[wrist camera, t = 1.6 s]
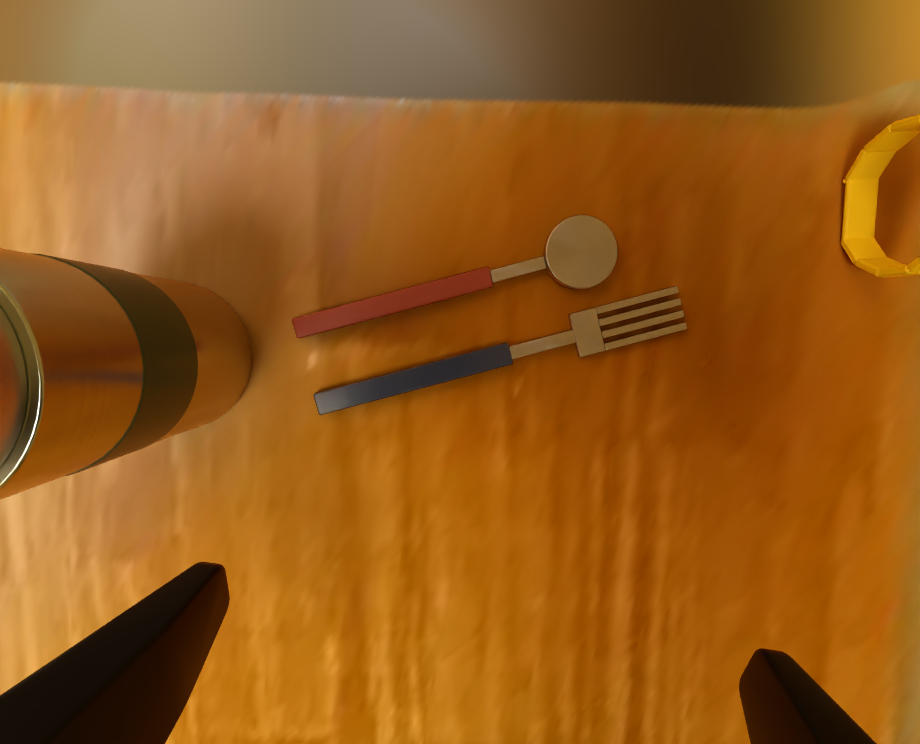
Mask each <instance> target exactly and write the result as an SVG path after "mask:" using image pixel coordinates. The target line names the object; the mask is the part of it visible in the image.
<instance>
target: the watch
mask: <svg viewBox="0 0 920 744" xmlns="http://www.w3.org/2000/svg"><path fill="white" fill-rule="evenodd" d="M919 133H920V114H919V115H916V116H912V117H909V118H905V119H902V120H899V121H895V122H893V123H892V124H889V125H888V126H887V127H886V128H885V129H884V130H882V131H881V132H880V133H879V134H878V135H877V136H875V137H874V138H873V139H872V140H871V141H870V142H869V143H867V144H866V145H865V146H864V149H862V150H861V151H860V153H859V155H858V157H857V158H856V160H855V162H854V163H853V165H852V167H851V168H850V170H849V172H848V173H847V175H846V177H845V178H846V179H843V183H846V184H845V197H844V211H843V224H842V238H841V245H842V246H843V248H844V250H845V251H846V253H847V254H848V256H849V258H850V259H851V261H852V263H853V264H855V266H856V267H858V268H860V269H862V270H864V271H866V272H868V273H870V274H872V275H874V276H876V277H881V278H882V277H903V276H915V275H920V256H919V257H918V258H917V259H915V260H914V261H912V262H911V263H910V264H907V265H904V264H902V263H899V262H897V261H895V260H892V259H890V258H888V257H887V256H886V255H885V253H884V252H883V250H882V249H881V248H880V246H879V245H878V243H877V242H876V240H875V239H874V232H875V220H876V208H877V196H878V184H879V177H880V176H881V174H882V173H883V171H884V169H885V168H886V166H887V165H888V163H889V162H890V160H891V159H892V157H893V156H894V154H895V152H896V151H897V150H899V149H900V148H901V147H903V146H904V145H905V144H906V143H908V142H909V141H910V140H911V139H913V138H914V137H915V136H917V135H918V134H919Z"/></svg>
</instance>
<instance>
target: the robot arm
mask: <svg viewBox="0 0 920 744" xmlns="http://www.w3.org/2000/svg"><path fill="white" fill-rule="evenodd" d="M229 599H230V598H229V590H228V584H227V577H226V571H225V568H224V567H223V566H222V565H220V564H215V563H209V562H199V563H197V564H195V565H193V566H191V567H190V568H189V569H187V570H186V571H184V572H183V573H181V574H180V575H178V576H177V577H175V578H174V579H172V580H171V581H169V582H168V583H166V584H165V585H163V586H162V587H160V588H159V589H157V590H156V591H154V592H153V593H151V594H150V595H148V596H147V597H146V598H144V599H143V600H141V601H140V602H138V603H137V604H135V605H134V606H132V607H131V608H129V609H128V610H126V611H125V612H123V613H122V614H120V615H119V616H117V617H116V618H114V619H113V620H111V621H110V622H108V623H107V624H105V625H104V626H103V627H101V628H100V629H98V630H97V631H95V632H94V633H92V634H91V635H89V636H88V637H86V638H85V639H83V640H82V641H80V642H79V643H77V644H76V645H74V646H73V647H71V648H70V649H68V650H67V651H65V652H64V653H62V654H61V655H60V656H58V657H57V658H55V659H54V660H52V661H51V662H49V663H48V664H46V665H45V666H43V667H42V668H40V669H39V670H37V671H36V672H34V673H33V674H31V675H30V676H28V677H27V678H25V679H24V680H22V681H21V682H19V683H18V684H17V685H15V686H14V687H12V688H11V689H9V690H8V691H6V692H5V693H3V694H2V695H0V744H165V743H166V741H167V739H168V737H169V735H170V733H171V732H172V730H173V728H174V726H175V724H176V722H177V721H178V719H179V717H180V715H181V713H182V711H183V709H184V707H185V705H186V703H187V701H188V699H189V697H190V695H191V692H192V690H193V688H194V686H195V684H196V681H197V679H198V677H199V674H200V672H201V670H202V667H203V665H204V663H205V660H206V658H207V656H208V654H209V651H210V649H211V647H212V644H213V642H214V640H215V637H216V635H217V633H218V630H219V628H220V626H221V624H222V621H223V619H224V617H225V614H226V612H227V609H228V606H229ZM739 691H740V697H741V702H742V706H743V711H744V715H745V720H746V724H747V729H748V733H749V738H750V742H751V744H876V743H875V742H874V741H873V740H872V739H871V738H870V737H869V736H868V735H867V734H866V733H865V732H864V730H863V729H862V728H861V727H860V726H859V725H858V724H857V723H856V722H855V721H854V720H853V719H852V718H851V717H850V716H849V715H848V714H847V713H846V712H845V711H844V710H843V709H842V708H841V707H840V706H839V705H838V704H837V703H836V702H835V701H834V700H833V699H832V698H831V697H830V696H829V695H828V694H827V693H826V692H825V691H824V690H823V689H822V688H821V687H820V686H819V685H818V684H817V683H816V682H815V681H814V680H813V679H812V678H811V677H810V676H809V675H808V674H807V673H806V672H805V671H804V670H803V669H802V668H801V667H800V666H799V665H798V664H797V663H796V662H795V661H794V660H793V659H792V658H791V657H790V656H789V655H787V654H786V653H784V652H781V651H776V650H770V649H763V648H760V649H758V650H756V651H755V652H754V654H753V656H752V658H751V659H750V661H749V663H748V665H747V667H746V668H745V670H744V672H743V674H742V676H741V678H740V683H739Z"/></svg>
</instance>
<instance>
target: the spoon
mask: <svg viewBox="0 0 920 744" xmlns="http://www.w3.org/2000/svg"><path fill="white" fill-rule="evenodd" d="M617 255H618V247H617V242H616V239H615V236H614V234H613V232H612V231H611V229H610V228H609V227H608V226H607V225H606V224H605V223H604V222H602V221H601V220H599V219H597V218H595V217H592V216H588V215H576V216H572V217H569V218H567V219H565V220H563V221H561V222H560V223H559V224H558V225H556V226H555V227H554V229H553V230H552V231H551V232H550V234H549V235H548V237H547V239H546V242H545V245H544V250H543V256H542V257H538V258H534V259H531V260H527V261H523V262H519V263H516V264H512V265H508V266H504V267H501V268H497V269H493V270H490V271H489V267H484V268H481V269H477V270H473V271H469V272H466V273H462V274H458V275H454V276H450V277H447V278H443V279H439V280H435V281H432V282H428V283H424V284H420V285H417V286H413V287H409V288H405V289H402V290H398V291H394V292H390V293H387V294H383V295H379V296H375V297H372V298H368V299H364V300H360V301H357V302H353V303H349V304H345V305H342V306H338V307H334V308H330V309H327V310H323V311H319V312H315V313H312V314H308V315H304V316H300V317H297V318H293V319H292V322H293V326H294V329H295V333H296V336H297V338H303V337H307V336H311V335H315V334H318V333H322V332H326V331H330V330H334V329H337V328H341V327H345V326H349V325H352V324H356V323H360V322H364V321H367V320H371V319H375V318H379V317H382V316H386V315H390V314H394V313H397V312H401V311H405V310H409V309H412V308H416V307H420V306H424V305H428V304H431V303H435V302H439V301H443V300H446V299H450V298H454V297H458V296H461V295H465V294H469V293H473V292H476V291H480V290H484V289H488V288H491V287H493V283H496V282H499V281H503V280H507V279H511V278H514V277H518V276H522V275H526V274H529V273H533V272H537V271H541V270H544V269H547V271H548V273H549V275H550V276H551V277H552V278H553V279H554V280H555V281H556V282H557V283H558V284H560V285H562V286H564V287H566V288H569V289H574V290H583V289H588V288H591V287H594V286H596V285H598V284H600V283H601V282H603V281H604V280H605V279H606V278H607V277H608V276H609V275H610V273H611V272H612V270H613V269H614V267H615V264H616V261H617Z"/></svg>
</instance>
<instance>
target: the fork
mask: <svg viewBox="0 0 920 744" xmlns="http://www.w3.org/2000/svg"><path fill="white" fill-rule="evenodd" d="M676 293H679V290H678V286H674V287H670V288H666V289H663V290H659V291H655V292H651V293H647V294H644V295H640V296H636V297H632V298H629V299H625V300H621V301H617V302H614V303H610V304H606V305H602V306H598V307H595V308H591V309H587V310H583V311H580V312H576V313H572V314H569V315H568V316H569V320H570V324H571V328H572V330H568V331H564V332H561V333H557V334H553V335H549V336H546V337H542V338H538V339H534V340H530V341H527V342H523V343H519V344H515V345H512V346H509V345H508V343H502V344H498V345H494V346H491V347H487V348H483V349H479V350H476V351H472V352H468V353H464V354H461V355H457V356H453V357H449V358H445V359H442V360H438V361H434V362H430V363H427V364H423V365H419V366H415V367H411V368H408V369H404V370H400V371H396V372H393V373H389V374H385V375H381V376H378V377H374V378H370V379H366V380H362V381H359V382H355V383H351V384H347V385H344V386H340V387H336V388H332V389H328V390H325V391H321V392H317V393H315V394H314V398H315V402H316V405H317V409H318V412H319V415H322V414H326V413H330V412H334V411H338V410H341V409H345V408H349V407H353V406H356V405H360V404H364V403H368V402H372V401H375V400H379V399H383V398H387V397H391V396H394V395H398V394H402V393H406V392H409V391H413V390H417V389H421V388H425V387H428V386H432V385H436V384H440V383H443V382H447V381H451V380H455V379H459V378H462V377H466V376H470V375H474V374H477V373H481V372H485V371H489V370H493V369H496V368H500V367H504V366H508V365H511V364H513V361H512V359H516V358H520V357H523V356H527V355H531V354H535V353H538V352H542V351H546V350H550V349H554V348H557V347H561V346H565V345H569V344H572V343H575V345H576V349H577V353H578V357H583V356H587V355H591V354H595V353H598V352H602V351H605V350H610V349H614V348H617V347H621V346H625V345H629V344H633V343H636V342H640V341H644V340H648V339H651V338H655V337H659V336H663V335H667V334H670V333H674V332H678V331H682V330H685V329H687V326H686V322H682V323H679V324H675V325H671V326H667V327H664V328H660V329H656V330H652V331H648V332H645V333H641V334H637V335H633V336H629V337H626V338H622V339H618V340H614V341H611V342H607V343H604V342H603V338H607V337H611V336H614V335H618V334H622V333H626V332H630V331H633V330H637V329H641V328H645V327H648V326H652V325H656V324H660V323H664V322H667V321H671V320H675V319H679V318H682V317H684V312H683V310H680V311H676V312H672V313H668V314H665V315H661V316H657V317H653V318H650V319H646V320H642V321H638V322H634V323H631V324H627V325H623V326H619V327H616V328H612V329H608V330H604V331H601V330H600V326H604V325H608V324H611V323H615V322H619V321H623V320H626V319H630V318H634V317H638V316H641V315H645V314H649V313H653V312H657V311H660V310H664V309H668V308H672V307H675V306H679V305H682V304H681V299H680V298H677V299H673V300H669V301H666V302H662V303H658V304H654V305H650V306H647V307H643V308H639V309H635V310H632V311H628V312H624V313H620V314H617V315H613V316H609V317H605V318H601V319H598V317H597V314H600V313H604V312H608V311H612V310H615V309H619V308H623V307H627V306H631V305H634V304H638V303H642V302H646V301H649V300H653V299H657V298H661V297H665V296H668V295H672V294H676Z"/></svg>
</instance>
